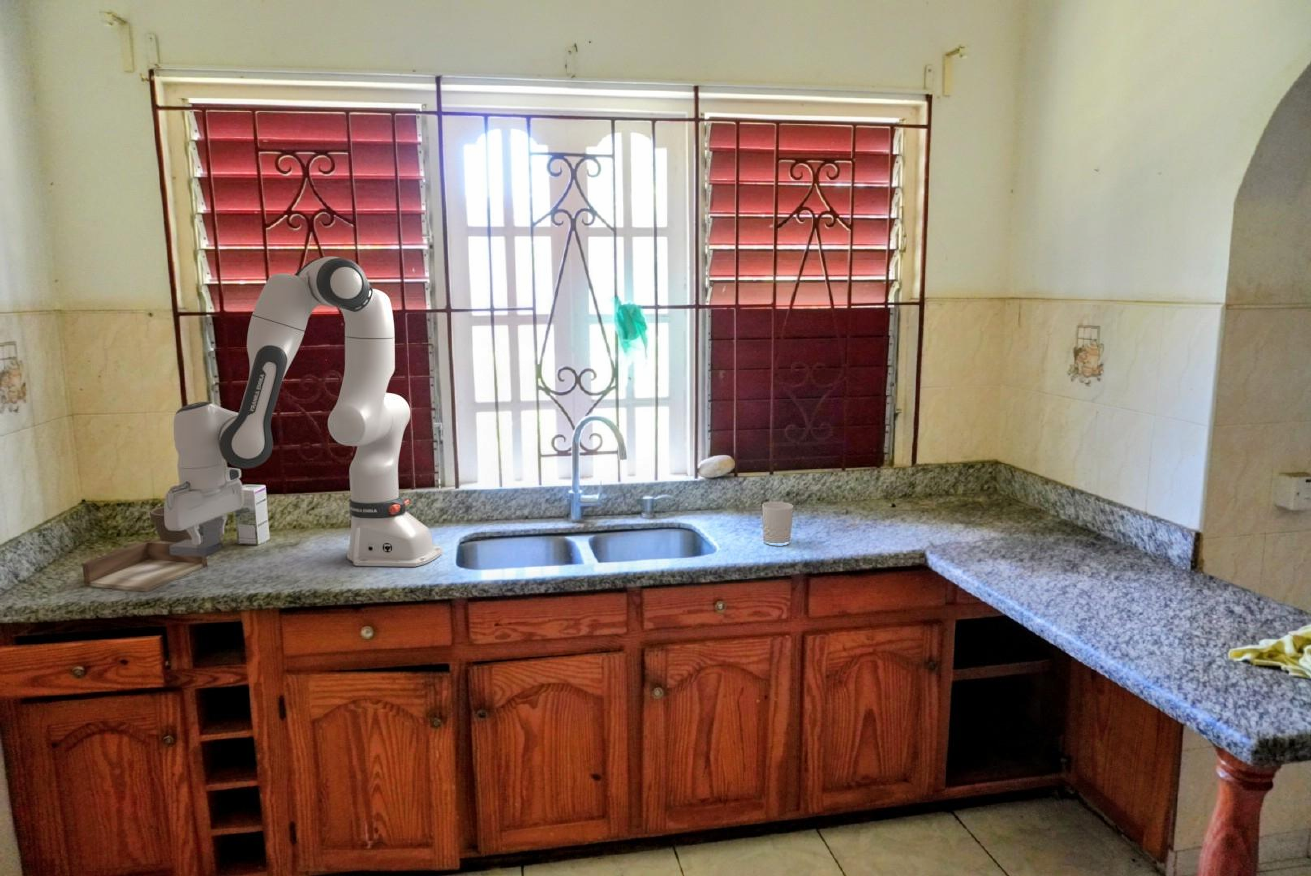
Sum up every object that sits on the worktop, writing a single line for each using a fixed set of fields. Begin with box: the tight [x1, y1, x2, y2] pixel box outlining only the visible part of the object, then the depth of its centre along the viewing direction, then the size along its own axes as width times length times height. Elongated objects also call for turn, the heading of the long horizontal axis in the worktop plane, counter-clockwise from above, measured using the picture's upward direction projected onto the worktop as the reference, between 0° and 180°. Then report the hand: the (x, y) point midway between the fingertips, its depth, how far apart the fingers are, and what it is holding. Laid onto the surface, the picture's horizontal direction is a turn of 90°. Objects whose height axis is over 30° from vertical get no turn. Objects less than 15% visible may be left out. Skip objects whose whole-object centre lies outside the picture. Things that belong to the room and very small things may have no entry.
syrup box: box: [234, 484, 270, 546], centre depth 220 cm, size 6×6×14 cm
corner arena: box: [81, 539, 208, 593], centre depth 195 cm, size 16×18×5 cm
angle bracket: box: [169, 518, 223, 558], centre depth 190 cm, size 9×5×7 cm, turn 78°
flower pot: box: [149, 506, 192, 543], centre depth 214 cm, size 12×11×10 cm
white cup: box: [761, 501, 794, 543], centre depth 222 cm, size 8×8×10 cm
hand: (208, 539), depth 189 cm, fingers closed on angle bracket, 5 cm apart
